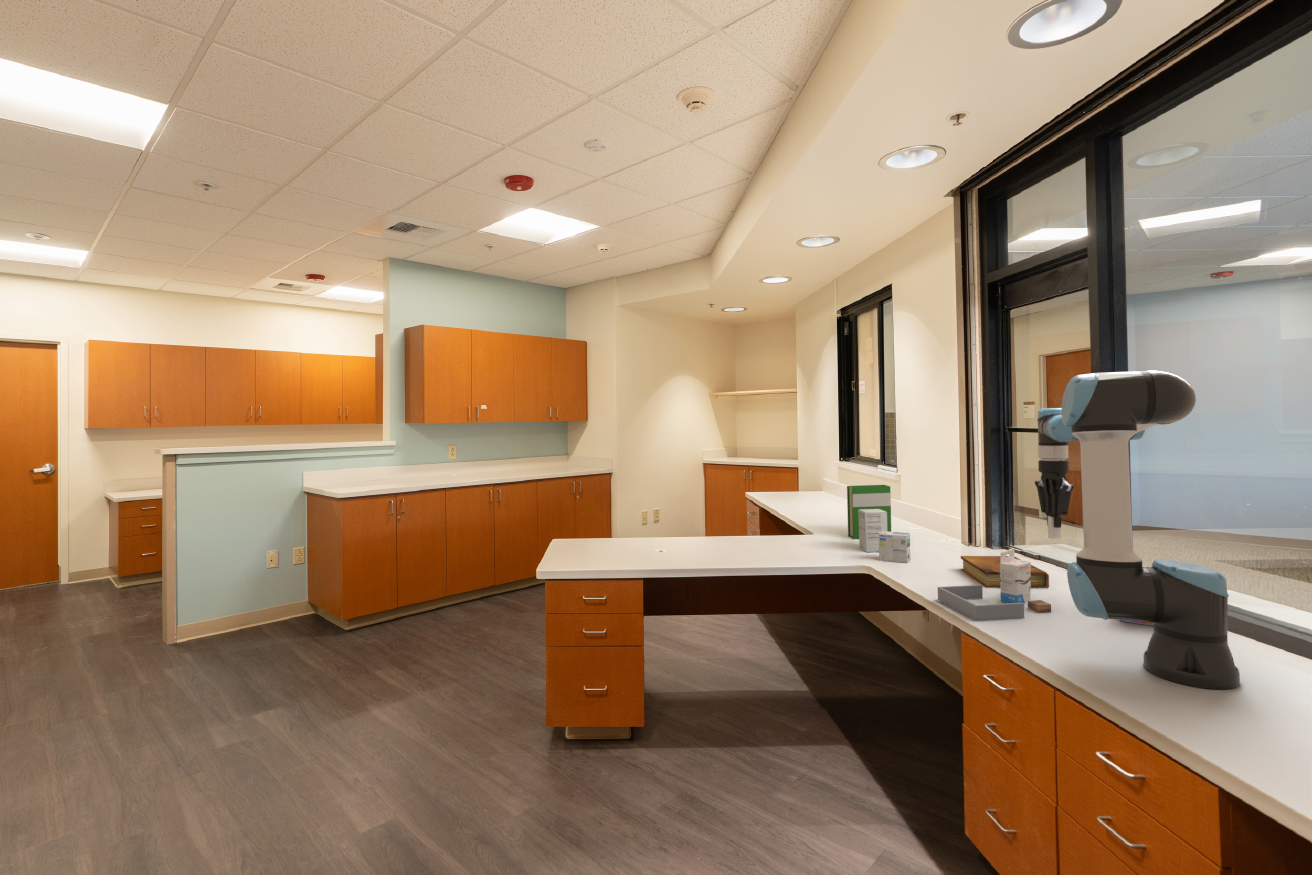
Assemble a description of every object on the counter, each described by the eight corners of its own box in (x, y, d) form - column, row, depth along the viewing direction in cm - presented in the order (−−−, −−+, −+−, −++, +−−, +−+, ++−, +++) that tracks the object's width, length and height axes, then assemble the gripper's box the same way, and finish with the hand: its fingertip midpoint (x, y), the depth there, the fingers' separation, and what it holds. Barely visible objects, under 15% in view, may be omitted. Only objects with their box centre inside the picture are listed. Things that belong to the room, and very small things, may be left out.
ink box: (1017, 605, 173) (1016, 555, 173) (999, 601, 177) (999, 552, 177) (1031, 599, 178) (1031, 551, 177) (1014, 596, 182) (1013, 548, 182)
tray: (1024, 617, 163) (1023, 603, 162) (976, 620, 161) (975, 606, 161) (981, 597, 181) (980, 584, 181) (937, 599, 180) (937, 586, 180)
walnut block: (1051, 612, 166) (1051, 604, 166) (1038, 613, 166) (1037, 604, 166) (1040, 608, 170) (1040, 599, 170) (1027, 609, 170) (1027, 600, 170)
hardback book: (853, 539, 274) (852, 487, 273) (848, 536, 281) (846, 485, 281) (891, 538, 274) (890, 486, 274) (885, 535, 282) (883, 484, 281)
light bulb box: (911, 559, 232) (910, 532, 232) (908, 563, 226) (907, 535, 226) (882, 557, 238) (881, 530, 238) (878, 560, 232) (878, 533, 232)
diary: (1049, 590, 189) (1048, 572, 189) (986, 589, 192) (986, 571, 192) (1016, 571, 212) (1016, 555, 212) (960, 571, 215) (960, 555, 215)
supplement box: (888, 552, 246) (887, 511, 246) (866, 552, 246) (865, 512, 246) (880, 547, 256) (879, 508, 255) (858, 547, 256) (857, 508, 256)
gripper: (1082, 460, 171) (1083, 541, 172) (1048, 457, 184) (1050, 533, 185) (1057, 461, 171) (1059, 542, 171) (1026, 458, 184) (1027, 534, 184)
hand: (1054, 537), depth 178 cm, fingers closed
